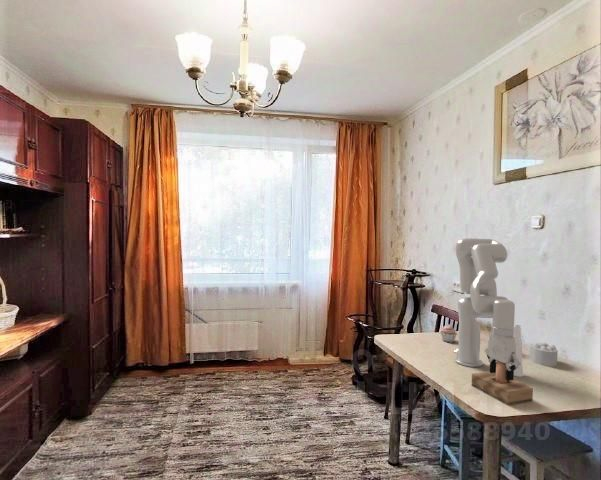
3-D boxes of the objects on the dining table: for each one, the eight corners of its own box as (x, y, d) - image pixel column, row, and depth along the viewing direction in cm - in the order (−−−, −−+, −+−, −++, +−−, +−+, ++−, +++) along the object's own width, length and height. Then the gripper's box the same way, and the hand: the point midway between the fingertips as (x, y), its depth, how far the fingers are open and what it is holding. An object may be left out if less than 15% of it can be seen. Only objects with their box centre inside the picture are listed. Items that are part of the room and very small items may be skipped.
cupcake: (436, 338, 225) (437, 321, 225) (451, 338, 226) (452, 321, 226) (444, 343, 216) (444, 325, 215) (460, 343, 217) (460, 325, 216)
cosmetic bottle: (509, 370, 175) (511, 323, 174) (524, 374, 171) (526, 325, 170) (506, 374, 170) (508, 325, 170) (522, 378, 166) (524, 327, 166)
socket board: (471, 385, 157) (471, 373, 157) (494, 382, 161) (495, 370, 161) (507, 405, 140) (508, 391, 140) (532, 401, 144) (533, 388, 143)
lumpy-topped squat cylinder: (549, 358, 193) (550, 341, 193) (562, 367, 181) (563, 349, 180) (527, 357, 195) (527, 340, 195) (538, 366, 182) (539, 348, 182)
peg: (492, 388, 152) (494, 359, 151) (500, 387, 153) (502, 358, 152) (500, 393, 148) (502, 362, 147) (509, 392, 149) (510, 361, 148)
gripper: (478, 326, 157) (477, 369, 157) (514, 338, 140) (512, 386, 141) (493, 325, 159) (491, 367, 160) (529, 337, 142) (527, 384, 143)
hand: (501, 376), depth 150 cm, fingers open, 7 cm apart
